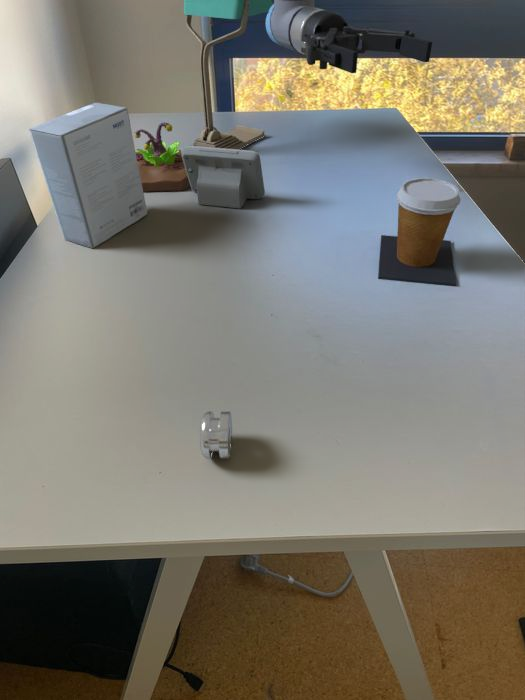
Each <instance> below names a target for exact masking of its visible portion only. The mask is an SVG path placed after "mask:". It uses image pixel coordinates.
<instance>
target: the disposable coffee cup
mask: <svg viewBox="0 0 525 700" xmlns="http://www.w3.org/2000/svg"><path fill="white" fill-rule="evenodd" d="M396 199H397V203H398V211H397V236H398V238H397V258H398V260H399V261H401V262H402V263H404V264H406V265H409V266H413V267H426V266H429V265H432V264H433V263H434V262H435V259H436V257H437V254H438V252H439V249H440V246H441V244H442V241H443V240H445V239H444V238H445V236H446V234H447V230H448V228H449V226H450V222H451V220H452V218H453V215H454V212H455V211H456V209H457V207H458V206H459V205H460V203H461V196H460V190H459V188H458V187H457V186H456V185H455V184H453V183H452V182H450V181H447V180H443V179H440V178H435V177H416V178H415V177H414V178H410V179H407V180H406V181H404V182H403V183H402V184H401V186H400V188H399V190H397V192H396Z"/></svg>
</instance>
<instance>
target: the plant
mask: <svg viewBox="0 0 525 700" xmlns="http://www.w3.org/2000/svg"><path fill="white" fill-rule="evenodd" d="M162 127H164V129H165V130H166V131H167V132H172V131H173V126H172V124H170V123H169V122H165V121H163V122H161V123H160V124H158V126H157V128H156V135H155V137H156V138H155V137H154V135H152V133H150V132H149V131H147V130H145V129H143V128H141V129H139V130H136V131H135V132H134V137H135V138H136V139H140V138H141V133H144V134H145V135H146V136H147V138H148V140H147V141H145V142H144V144H143V149H144V150H143V149H141V148H135V152H136V157H137V163H138V168H139V173H140V178H141V183H142V188H143V193H145V192H181V191H185V190H186V189H188V188H189V187H191V186H190V182H189V179H188V175H187V172H186V169H185V165H184V162H183V159H182V155H181V149H178V147H179V145H180V141H175V142H173V143H172V144H170V145H169V146H167V144H166V142H165V141H164V140H162V135H161V134H162Z"/></svg>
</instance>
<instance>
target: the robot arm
mask: <svg viewBox="0 0 525 700" xmlns="http://www.w3.org/2000/svg"><path fill="white" fill-rule="evenodd" d="M265 30H266V33H267V35H268V37H269V38H270V40H271V41H272V42H273V43H275V44H277V45H278V46H280V47H281V48H284V49H286V50H290V51H294V52H296V53H299V54H302V55H305V59H306V64H307V65H309V66H313V65H315V64H316V62H317V61H318V62H319V67H318V68H319V70H327V69H328V65H329V66H330V67H333V68H336V69H339V70H342V71H344V72H347V73H349V74H356V73H357V69H358V56H359V54H365V53H366V52H368V51H370V52H385V53H398V55H399V56H403V57H406V58H408V59H412V60H415V61H418V62H419V61H420V62H423V63H429V62H430V60H431V59H430V58H431V54H432V46H433V41H430V40H426V39H422V38H418V37H416V33H415V32H411V29H405V31H398V30H397V31H396V30H387V29H377V28H373V27H372V28H371V27H368V26H366V27H363V28H358V27H357V28H355V27H354V26H351V25H350V26H349V25H348V23H347V21H346V19H345V18H344V16H342V15H341V14H340V13H337V12H335V11H330V10H327V9H323V8H320V7H319V8H318V7H315V0H273V5H272V6H271V8H270V9H269V11H268V12H267V15H266V18H265ZM360 42H361V47H360V48H359V45H360Z"/></svg>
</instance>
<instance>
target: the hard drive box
mask: <svg viewBox="0 0 525 700" xmlns="http://www.w3.org/2000/svg"><path fill="white" fill-rule="evenodd" d="M28 131H29V133H30V137H31V139H32V140H31V141H32V143H33V146H34V149H35V153H36V155H37V158H38V162H39V165H40V168H41V171H42V175H43V177H44V180H45V184H46V187H47V190H48V193H49V196H50V199H51V202H52V206H53V209H54V212H55V215H56V218H57V221H58V224H59V228H60V230H61V231H60V232H61V234H62V237H63V240H65V241H67V242H71V243H74V244H77V245H80V246H84V247H87V248H90V249H94V248H96V247H98V246H99V245H101V244H102V243H104V242H106V241H108V240H109V239H111V238H112V237H113V236H115V235H117V234H118V233H120V232H121V231H123V230H125V229H126V228H128V227H129V226H131V225H133V224H135V223H136V222H138V221H139V220H141V219H142V218H143V217H145V216H147V215H148V208H147V204H146V198H145V192H143V188H142V183H141V178H140V173H139V168H138V163H137V157H136V152H137V151H136V147H135V143H134V136H133V132H132V126H131V121H130V116H129V111H128V108H127V107H125V106H119V105H113V104H107V103H101V102H93V103H91V104H88V105H86V106H83V107H80V108H78V109H76V110H73V111H69V112H68V113H65V114H63V115H60V116H57V117H55V118H53V119H50V120H47V121H44V122H42V123H40V124H37V125H35V126H32V127H30V128H28Z"/></svg>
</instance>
